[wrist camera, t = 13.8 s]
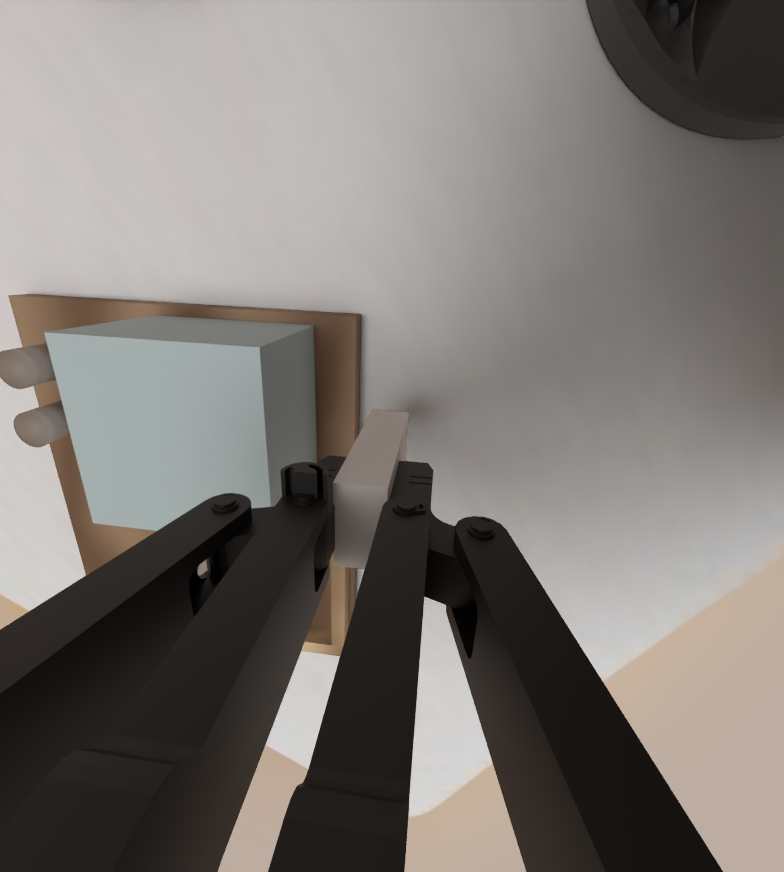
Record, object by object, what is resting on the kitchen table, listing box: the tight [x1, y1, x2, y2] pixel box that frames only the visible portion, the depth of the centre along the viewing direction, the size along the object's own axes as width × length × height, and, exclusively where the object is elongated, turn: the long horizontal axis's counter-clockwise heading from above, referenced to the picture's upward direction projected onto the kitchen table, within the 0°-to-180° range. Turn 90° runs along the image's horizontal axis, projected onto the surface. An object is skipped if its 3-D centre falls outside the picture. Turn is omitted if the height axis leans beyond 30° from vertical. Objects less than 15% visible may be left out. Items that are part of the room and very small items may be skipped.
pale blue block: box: [44, 315, 317, 531], centre depth 19 cm, size 8×8×6 cm
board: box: [0, 294, 361, 656], centre depth 23 cm, size 18×20×4 cm
